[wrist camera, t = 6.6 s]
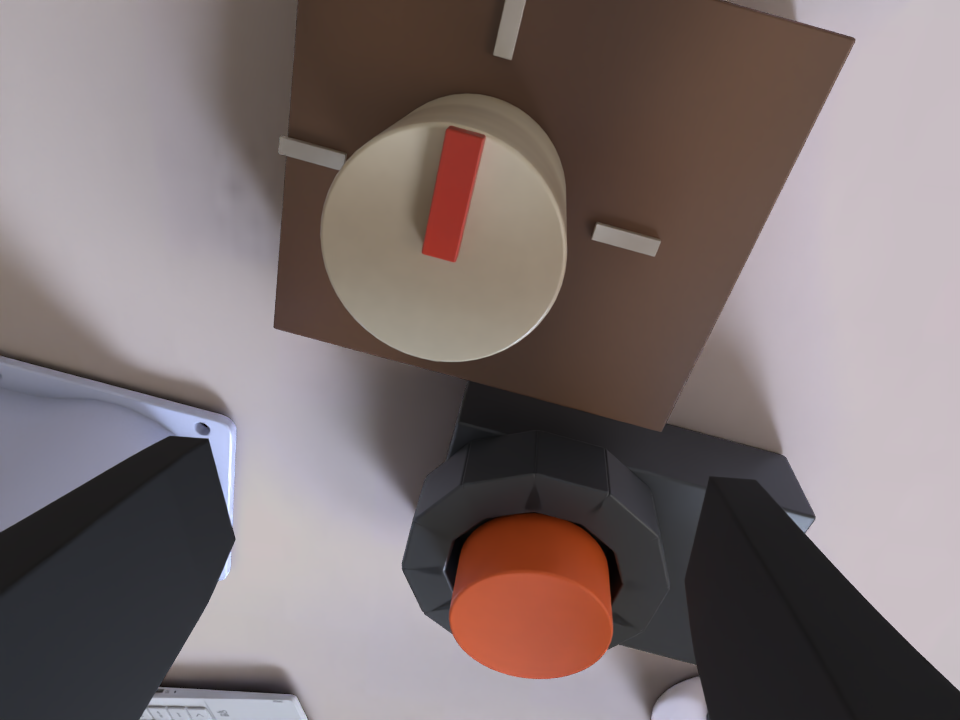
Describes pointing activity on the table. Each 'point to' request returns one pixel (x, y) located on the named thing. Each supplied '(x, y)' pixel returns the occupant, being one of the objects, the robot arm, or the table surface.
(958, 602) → the table surface
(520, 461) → the button housing
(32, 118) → the table surface
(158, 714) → the laptop
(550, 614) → the orange button
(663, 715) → the silver metal cup
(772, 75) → the dial panel
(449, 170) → the dial
